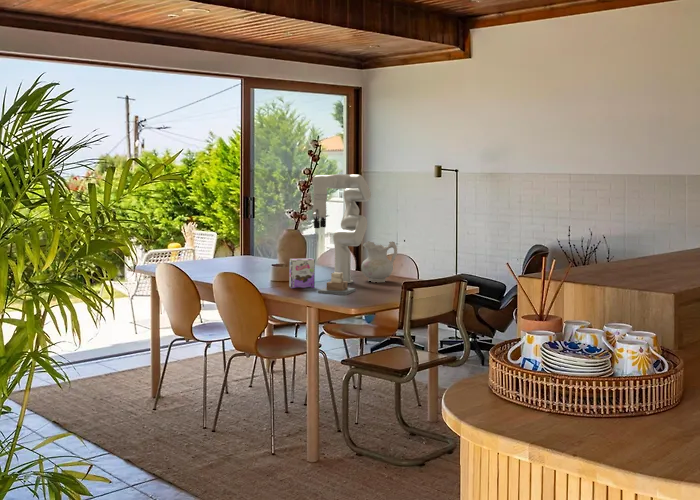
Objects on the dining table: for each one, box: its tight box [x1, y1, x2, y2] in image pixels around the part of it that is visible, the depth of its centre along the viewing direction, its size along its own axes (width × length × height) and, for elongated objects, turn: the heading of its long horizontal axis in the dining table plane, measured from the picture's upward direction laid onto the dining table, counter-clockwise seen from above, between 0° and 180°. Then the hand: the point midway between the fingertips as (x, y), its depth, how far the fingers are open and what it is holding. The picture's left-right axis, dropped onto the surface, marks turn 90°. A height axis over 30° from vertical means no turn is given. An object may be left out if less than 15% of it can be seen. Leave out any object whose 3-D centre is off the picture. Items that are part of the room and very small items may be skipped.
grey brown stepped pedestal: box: [317, 280, 356, 295], centre depth 462 cm, size 16×16×6 cm
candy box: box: [288, 257, 316, 289], centre depth 479 cm, size 14×6×16 cm, turn 105°
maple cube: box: [330, 271, 343, 283], centre depth 462 cm, size 5×5×5 cm
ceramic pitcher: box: [361, 241, 398, 283], centre depth 509 cm, size 22×20×25 cm
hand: (319, 227), depth 475 cm, fingers open, 9 cm apart
